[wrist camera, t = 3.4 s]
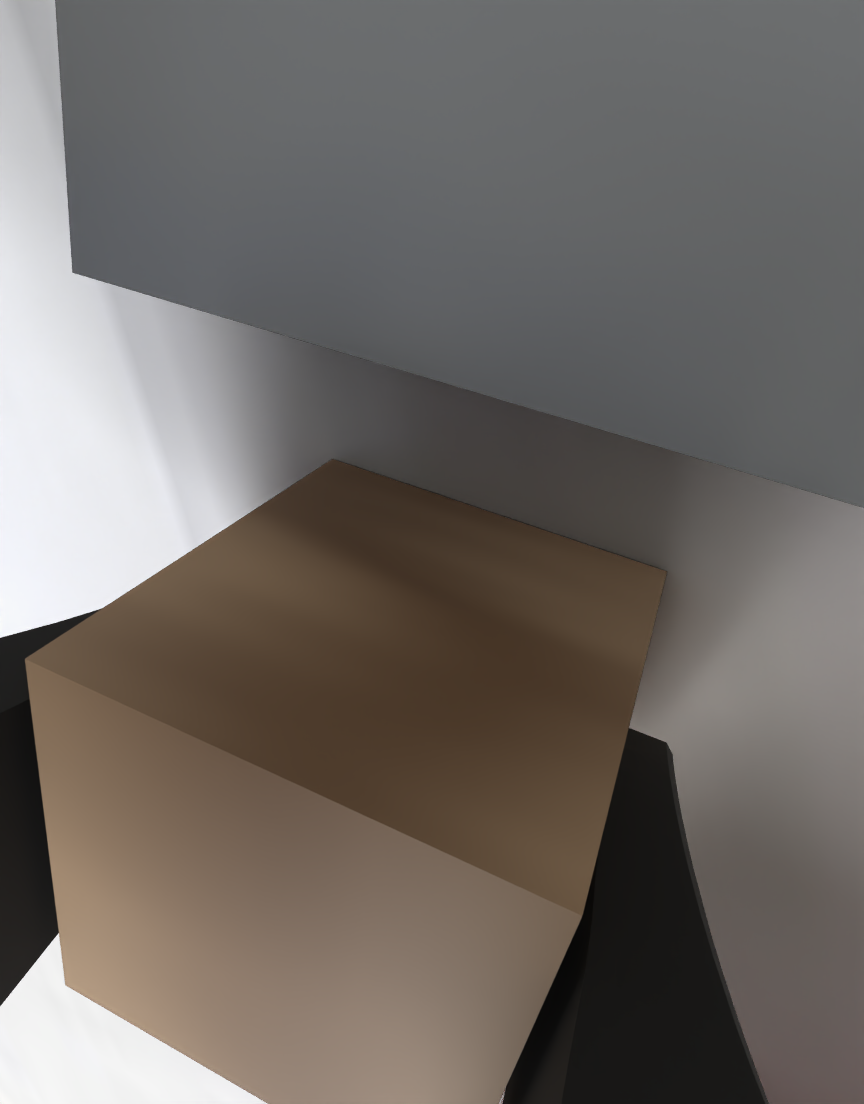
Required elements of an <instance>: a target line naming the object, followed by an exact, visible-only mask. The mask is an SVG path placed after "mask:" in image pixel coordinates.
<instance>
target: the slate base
mask: <svg viewBox="0 0 864 1104" xmlns="http://www.w3.org/2000/svg"><path fill="white" fill-rule="evenodd" d="M55 3H56V19H57V35H58V51H59V67H60V82H61V98H62V114H63V130H64V146H65V162H66V177H67V193H68V209H69V225H70V241H71V257H72V272H73V273H76V274H79V275H82V276H86V277H89V278H93V279H96V280H99V281H103V282H106V283H109V284H113V285H116V286H119V287H123V288H126V289H130V290H133V291H136V292H140V293H143V294H146V295H150V296H153V297H156V298H160V299H163V300H167V301H170V302H173V303H177V304H180V305H183V306H187V307H190V308H193V309H197V310H200V311H204V312H207V313H210V314H214V315H217V316H220V317H224V318H227V319H230V320H234V321H237V322H241V323H244V324H247V325H251V326H254V327H257V328H261V329H264V330H267V331H271V332H274V333H278V334H281V335H284V336H288V337H291V338H294V339H298V340H301V341H304V342H308V343H311V344H315V345H318V346H321V347H325V348H328V349H331V350H335V351H338V352H341V353H345V354H348V355H351V356H355V357H358V358H362V359H365V360H368V361H372V362H375V363H378V364H382V365H385V366H388V367H392V368H395V369H399V370H402V371H405V372H409V373H412V374H415V375H419V376H422V377H425V378H429V379H432V380H436V381H439V382H442V383H446V384H449V385H452V386H456V387H459V388H462V389H466V390H469V391H473V392H476V393H479V394H483V395H486V396H489V397H493V398H496V399H499V400H503V401H506V402H510V403H513V404H516V405H520V406H523V407H526V408H530V409H533V410H536V411H540V412H543V413H547V414H550V415H553V416H557V417H560V418H563V419H567V420H570V421H573V422H577V423H580V424H584V425H587V426H590V427H594V428H597V429H600V430H604V431H607V432H610V433H614V434H617V435H621V436H624V437H627V438H631V439H634V440H637V441H641V442H644V443H647V444H651V445H654V446H657V447H661V448H664V449H668V450H671V451H674V452H678V453H681V454H684V455H688V456H691V457H694V458H698V459H701V460H705V461H708V462H711V463H715V464H718V465H721V466H725V467H728V468H731V469H735V470H738V471H742V472H745V473H748V474H752V475H755V476H758V477H762V478H765V479H768V480H772V481H775V482H779V483H782V484H785V485H789V486H792V487H795V488H799V489H802V490H805V491H809V492H812V493H816V494H819V495H822V496H826V497H829V498H832V499H836V500H839V501H842V502H846V503H849V504H853V505H856V506H859V507H863V508H864V0H55Z"/></svg>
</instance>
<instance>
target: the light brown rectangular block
mask: <svg viewBox="0 0 864 1104" xmlns="http://www.w3.org/2000/svg"><path fill="white" fill-rule="evenodd" d="M666 574H667V571H664V570H661V569H658V568H655V567H652V566H649V565H646V564H643V563H640V562H637V561H634V560H631V559H628V558H625V557H622V556H619V555H616V554H613V553H610V552H607V551H604V550H601V549H598V548H595V547H592V546H589V545H586V544H583V543H580V542H577V541H575V540H572V539H569V538H566V537H563V536H560V535H557V534H554V533H551V532H548V531H545V530H542V529H539V528H536V527H533V526H530V525H527V524H524V523H521V522H518V521H515V520H512V519H509V518H506V517H503V516H500V515H497V514H494V513H491V512H488V511H485V510H482V509H480V508H477V507H474V506H471V505H468V504H465V503H462V502H459V501H456V500H453V499H450V498H447V497H444V496H441V495H438V494H435V493H432V492H429V491H426V490H423V489H420V488H417V487H414V486H411V485H408V484H405V483H402V482H399V481H396V480H393V479H390V478H387V477H385V476H382V475H379V474H376V473H373V472H370V471H367V470H364V469H361V468H358V467H355V466H352V465H349V464H346V463H343V462H340V461H337V460H334V459H332V460H330V461H329V462H327V463H326V464H324V465H323V466H321V467H319V468H318V469H316V470H315V471H313V472H312V473H310V474H309V475H307V476H306V477H304V478H303V479H301V480H299V481H298V482H296V483H295V484H293V485H292V486H290V487H289V488H287V489H286V490H284V491H283V492H281V493H279V494H278V495H276V496H275V497H273V498H272V499H270V500H269V501H267V502H266V503H264V504H262V505H261V506H259V507H258V508H256V509H255V510H253V511H252V512H250V513H249V514H247V515H246V516H244V517H242V518H241V519H239V520H238V521H236V522H235V523H233V524H232V525H230V526H229V527H227V528H226V529H224V530H222V531H221V532H219V533H218V534H216V535H215V536H213V537H212V538H210V539H209V540H207V541H206V542H204V543H202V544H201V545H199V546H198V547H196V548H195V549H193V550H192V551H190V552H189V553H187V554H186V555H184V556H182V557H181V558H179V559H178V560H176V561H175V562H173V563H172V564H170V565H169V566H167V567H166V568H164V569H162V570H161V571H159V572H158V573H156V574H155V575H153V576H152V577H150V578H149V579H147V580H146V581H144V582H142V583H141V584H139V585H138V586H136V587H135V588H133V589H132V590H130V591H129V592H127V593H125V594H124V595H122V596H121V597H119V598H118V599H116V600H115V601H113V602H112V603H110V604H109V605H107V606H105V607H104V608H102V609H101V610H99V611H98V612H96V613H95V614H93V615H92V616H90V617H89V618H87V619H85V620H84V621H82V622H81V623H79V624H78V625H76V626H75V627H73V628H72V629H70V630H69V631H67V632H65V633H64V634H62V635H61V636H59V637H58V638H56V639H55V640H53V641H52V642H50V643H49V644H47V645H45V646H44V647H42V648H41V649H39V650H38V651H36V652H35V653H33V654H32V655H30V656H29V657H27V658H25V664H26V672H27V681H28V689H29V697H30V705H31V713H32V721H33V729H34V737H35V745H36V753H37V761H38V769H39V777H40V785H41V793H42V801H43V809H44V817H45V825H46V833H47V841H48V849H49V857H50V865H51V873H52V881H53V889H54V897H55V905H56V913H57V921H58V929H59V937H60V945H61V953H62V961H63V969H64V977H65V985H66V986H68V987H69V988H71V989H73V990H75V991H76V992H78V993H80V994H81V995H83V996H85V997H87V998H88V999H90V1000H92V1001H93V1002H95V1003H97V1004H99V1005H100V1006H102V1007H104V1008H105V1009H107V1010H109V1011H111V1012H112V1013H114V1014H116V1015H117V1016H119V1017H121V1018H122V1019H124V1020H126V1021H128V1022H129V1023H131V1024H133V1025H134V1026H136V1027H138V1028H140V1029H141V1030H143V1031H145V1032H146V1033H148V1034H150V1035H152V1036H153V1037H155V1038H157V1039H158V1040H160V1041H162V1042H164V1043H165V1044H167V1045H169V1046H170V1047H172V1048H174V1049H175V1050H177V1051H179V1052H181V1053H182V1054H184V1055H186V1056H187V1057H189V1058H191V1059H193V1060H194V1061H196V1062H198V1063H199V1064H201V1065H203V1066H205V1067H206V1068H208V1069H210V1070H211V1071H213V1072H215V1073H217V1074H218V1075H220V1076H222V1077H223V1078H225V1079H227V1080H228V1081H230V1082H232V1083H234V1084H235V1085H237V1086H239V1087H240V1088H242V1089H244V1090H246V1091H247V1092H249V1093H251V1094H252V1095H254V1096H256V1097H258V1098H259V1099H261V1100H263V1101H264V1102H266V1103H268V1104H499V1101H500V1099H501V1097H502V1095H503V1092H504V1090H505V1088H506V1086H507V1083H508V1081H509V1079H510V1077H511V1074H512V1072H513V1070H514V1068H515V1066H516V1063H517V1061H518V1059H519V1057H520V1054H521V1052H522V1050H523V1048H524V1045H525V1043H526V1041H527V1039H528V1036H529V1034H530V1032H531V1030H532V1028H533V1025H534V1023H535V1021H536V1019H537V1016H538V1014H539V1012H540V1010H541V1007H542V1005H543V1003H544V1001H545V998H546V996H547V994H548V992H549V989H550V987H551V985H552V983H553V981H554V978H555V976H556V974H557V972H558V969H559V967H560V965H561V963H562V960H563V958H564V956H565V954H566V951H567V949H568V947H569V945H570V943H571V940H572V938H573V936H574V934H575V931H576V929H577V927H578V925H579V922H580V920H581V918H582V915H583V911H584V907H585V903H586V899H587V895H588V891H589V887H590V883H591V879H592V875H593V871H594V867H595V863H596V859H597V855H598V850H599V846H600V842H601V838H602V834H603V830H604V826H605V822H606V818H607V814H608V810H609V806H610V802H611V798H612V794H613V790H614V785H615V781H616V777H617V773H618V769H619V765H620V761H621V757H622V753H623V749H624V745H625V741H626V737H627V733H628V729H629V725H630V720H631V716H632V712H633V708H634V704H635V700H636V696H637V692H638V688H639V684H640V680H641V676H642V672H643V668H644V664H645V660H646V656H647V651H648V647H649V643H650V639H651V635H652V631H653V627H654V623H655V619H656V615H657V611H658V607H659V603H660V599H661V595H662V591H663V586H664V582H665V578H666Z"/></svg>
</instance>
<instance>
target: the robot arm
mask: <svg viewBox="0 0 864 1104" xmlns="http://www.w3.org/2000/svg"><path fill="white" fill-rule="evenodd" d="M99 610H101V609H99ZM99 610H96V611H93V612H90V613H86V614H83V615H80V616H77V617H73V618H70V619H67V620H64V621H60V622H57V623H53V624H50V625H46V626H42V627H39V628H35V629H31V630H28V631H24V632H20V633H17V634H13V635H9V636H6V637H2V638H0V1006H1V1005H2V1003H3V1002H4V1001H5V1000H6V998H7V997H8V996H9V995H10V993H11V992H12V991H13V990H14V988H15V987H16V986H17V984H18V983H19V982H20V981H21V979H22V978H23V977H24V976H25V974H26V973H27V972H28V971H29V969H30V968H31V967H32V966H33V964H34V963H35V962H36V961H37V959H38V958H39V957H40V956H41V954H42V953H43V952H44V951H45V949H46V948H47V947H48V946H49V944H50V943H51V942H52V940H53V939H54V938H55V937H56V936H57V934H58V933H59V929H58V921H57V913H56V905H55V897H54V889H53V881H52V873H51V865H50V857H49V849H48V841H47V833H46V825H45V817H44V809H43V801H42V793H41V785H40V777H39V769H38V761H37V753H36V745H35V737H34V729H33V721H32V713H31V705H30V697H29V689H28V681H27V672H26V664H25V658H27V657H29V656H30V655H32V654H33V653H35V652H36V651H38V650H39V649H41V648H42V647H44V646H45V645H47V644H49V643H50V642H52V641H53V640H55V639H56V638H58V637H59V636H61V635H62V634H64V633H65V632H67V631H69V630H70V629H72V628H73V627H75V626H76V625H78V624H79V623H81V622H82V621H84V620H85V619H87V618H89V617H90V616H92V615H93V614H95V613H96V612H98V611H99ZM503 1104H769V1103H768V1100H767V1098H766V1095H765V1092H764V1090H763V1087H762V1085H761V1082H760V1079H759V1076H758V1074H757V1071H756V1068H755V1066H754V1063H753V1060H752V1058H751V1055H750V1052H749V1049H748V1046H747V1043H746V1041H745V1038H744V1035H743V1032H742V1029H741V1027H740V1024H739V1021H738V1018H737V1015H736V1012H735V1009H734V1006H733V1002H732V999H731V996H730V993H729V990H728V987H727V984H726V981H725V978H724V975H723V972H722V969H721V966H720V962H719V959H718V956H717V953H716V949H715V946H714V943H713V939H712V936H711V933H710V929H709V925H708V922H707V918H706V914H705V910H704V907H703V903H702V899H701V896H700V892H699V888H698V884H697V881H696V877H695V873H694V869H693V865H692V861H691V857H690V852H689V848H688V844H687V839H686V834H685V829H684V825H683V820H682V815H681V810H680V804H679V799H678V793H677V787H676V780H675V773H674V765H673V754H672V752H671V750H670V749H669V747H668V745H667V743H666V742H663V741H661V740H658V739H656V738H653V737H651V736H648V735H646V734H643V733H640V732H638V731H635V730H633V729H630V728H629V729H628V733H627V737H626V741H625V745H624V749H623V753H622V757H621V761H620V765H619V769H618V773H617V777H616V781H615V785H614V790H613V794H612V798H611V802H610V806H609V810H608V814H607V818H606V822H605V826H604V830H603V834H602V838H601V842H600V846H599V850H598V855H597V859H596V863H595V867H594V871H593V875H592V879H591V883H590V887H589V891H588V895H587V899H586V903H585V907H584V911H583V915H582V918H581V920H580V922H579V925H578V927H577V929H576V931H575V934H574V936H573V938H572V940H571V943H570V945H569V947H568V949H567V951H566V954H565V956H564V958H563V960H562V963H561V965H560V967H559V969H558V972H557V974H556V976H555V978H554V981H553V983H552V985H551V987H550V989H549V992H548V994H547V996H546V998H545V1001H544V1003H543V1005H542V1007H541V1010H540V1012H539V1014H538V1016H537V1019H536V1021H535V1023H534V1025H533V1028H532V1030H531V1032H530V1034H529V1036H528V1039H527V1041H526V1043H525V1045H524V1048H523V1050H522V1052H521V1054H520V1057H519V1059H518V1061H517V1063H516V1066H515V1068H514V1070H513V1072H512V1074H511V1077H510V1079H509V1081H508V1083H507V1086H506V1090H505V1095H504V1100H503Z"/></svg>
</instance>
